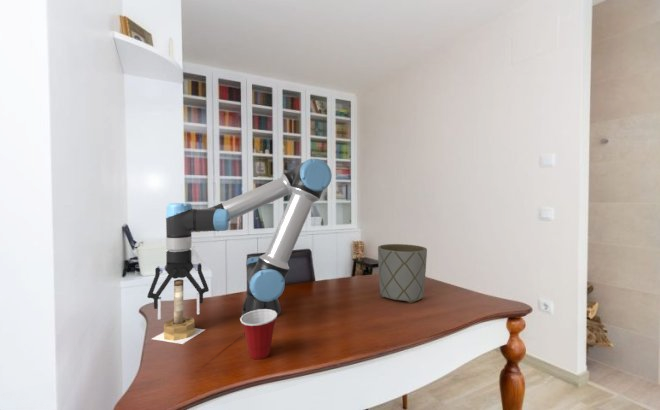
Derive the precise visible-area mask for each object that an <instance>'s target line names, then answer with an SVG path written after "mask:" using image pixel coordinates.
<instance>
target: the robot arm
mask: <svg viewBox="0 0 660 410" xmlns="http://www.w3.org/2000/svg"><path fill="white" fill-rule="evenodd" d="M332 179H333V178H332V171H331V168H330V166H329V165H328V163H327V162H325V161H323V160H322V159H319V158H310V159H306V160H305V161H303V162H300V163H299V164H297V165H296V166H295V167H293V168H291V169H290V170H288V171H286V172H284V173H282V174H281V176H280V177H278V178H277V179H274V180H272V181H270V182H267V183H265V184H263V185H260V186H258V187H255V188H253V189H251V190H249V191H246V192H244V193H241V194H239V195H237V196H235V197H232V198H229V199H227V200H226V201H223V202H221V203H218V204H216V205H214V206H211V207H208V208H205V209H204V208H201V209H196V208H193V207H192V204H191V203H189V202H188V203H187V202H186V203H184V202H183V203H182V202H181V203H180V202H173V203H172V202H171V203H168V204H167V205H166V216H165V223H166V226H165V227H166V228H165V232H166V234H165V235H166V237H165V238H166V239H165V240H166V241H165V244H166V245H165V246H166V247H165V248H166V250H167V251H165V252H166V261H165V262H166V265H165V266H160V265H157V266H156V267H155V274H154V277H153V280H152V283H151V286H150V288H149V291H148V293H147V297H146V298H148V299H153V308H154V310H157V320H158V321H159V320H161V319H162V297H161V294H162V293H163V291H164V290H165V289H166V287H167V286H168V284H169V282H171V280H172V279H174V280H177V279H185V278H187V280H188V281H189V282H190V283H191V285H192V286H193V287H194V289H195V290H196V291H197V292H196V315H200V304H203V303H204V293H207V292H209V285H208V283H207V281H206V279H205V276H204V274H203V271H202V263H200V262H199V263H195V264H193V261H192V256H193V255H192V254H193V253H192V232H221V231H228V229H229V228H230V227H229V224H230V223H229V222H230V221H233V220H234V219H236V218H239V217H241V216H244V215H246V214H248V213H250V212H252V211H255V210H257V209H260V208H262V207H264V206H267V205H268V204H271V203H273V202H275V201H278V200H280V199H281V198H284V197H286V196H290V198H289V199H288V202H287V205H286V207H285V209H284V211H283V214H282V216H281V218H280V220H279V223H278V224H277V227H276V229H275V231H274V234H273V236H272V239H271V240H270V243H269V245H268V247H267V249H266V252H265V253H263V254H262V255H259V256H251V257H248V258H247V260H246V264H245V266H246V296H245V299H244V302H243V305H242V309H241V316H243V315H244V314H245V313H248V312H250V311H254V310H258V309H271V310H274V311H276V313H277V317H279V316H280V315H281V304H280V301H279V299H278V298H279V297H281V295H282V294H283V292H284V290H285V288H286V287H285V284H286V282H285V279H286V277H287V275H288V273H289V271H290V266H289V264H288V263H289V260H290V257H291V256H292V252H293V251H294V248H295V245H296V244H297V241H298V239H299V237H300V234H301V233H302V231H303V227H304V226H305V223H306V221H307V218H308V216H309V214H310V212H311V209H312V207H313V205H314V203H316V202H319V201H320V200H321V199H320V198H321V196H322V194H323V193H324V190H326V189H327V188H328V187H329V186H330V184H331V182H332ZM193 269H194V270H195V271H196V272H197V274H198V277H199V280H200V282H201V284H202V287H201V286H200V285H199V283H198V282H197V281H196V279H195V278H194V277H193V275H192V274H191V271H192V270H193ZM164 271H165V272H166V273H167V276H166V277H165V279H164V280H163V282H162V283H161V285H160V286H159V288H158V289H157V291H156V292H155V293H154V291H155V288H156V286H157V283H158V282H159V281H158V280H159V278H160V275H161V274H163V273H164Z"/></svg>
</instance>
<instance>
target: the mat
mask: <svg viewBox="0 0 660 410" xmlns="http://www.w3.org/2000/svg"><path fill="white" fill-rule="evenodd" d="M203 332H205V329H202V328H196V327H195V334H193V335H191V336H190V337H188V338H186V339H180V340H175V341H172V340H166V339H164V331H163V332H162V333H160V334H157V335H155V336H154V337H152V338H151V340H154V341H163V342H168V343H174V344H181V345H184V344H185V343H187V342H188V341H190V340H192V339H193V338H194V337H196V336H198V335H199V334H201V333H203Z"/></svg>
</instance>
